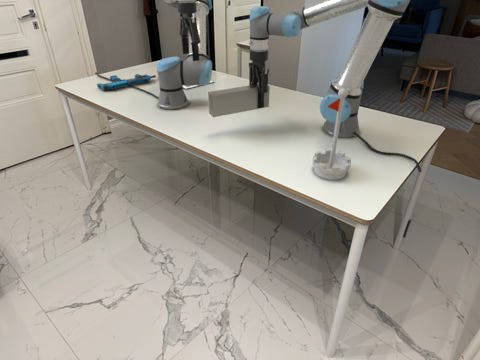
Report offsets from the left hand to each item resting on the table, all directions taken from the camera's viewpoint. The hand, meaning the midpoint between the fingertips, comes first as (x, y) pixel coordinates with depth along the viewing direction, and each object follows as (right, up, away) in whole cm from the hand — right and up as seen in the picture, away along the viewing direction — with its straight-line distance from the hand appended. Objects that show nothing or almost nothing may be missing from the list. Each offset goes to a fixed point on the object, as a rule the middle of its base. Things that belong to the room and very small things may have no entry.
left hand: (190, 57), depth 146 cm
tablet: (-13, +10, +67) cm, 69 cm away
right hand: (+29, -20, +2) cm, 36 cm away
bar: (+21, -23, -1) cm, 31 cm away
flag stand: (+53, -50, -25) cm, 78 cm away
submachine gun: (-49, +7, +62) cm, 79 cm away
